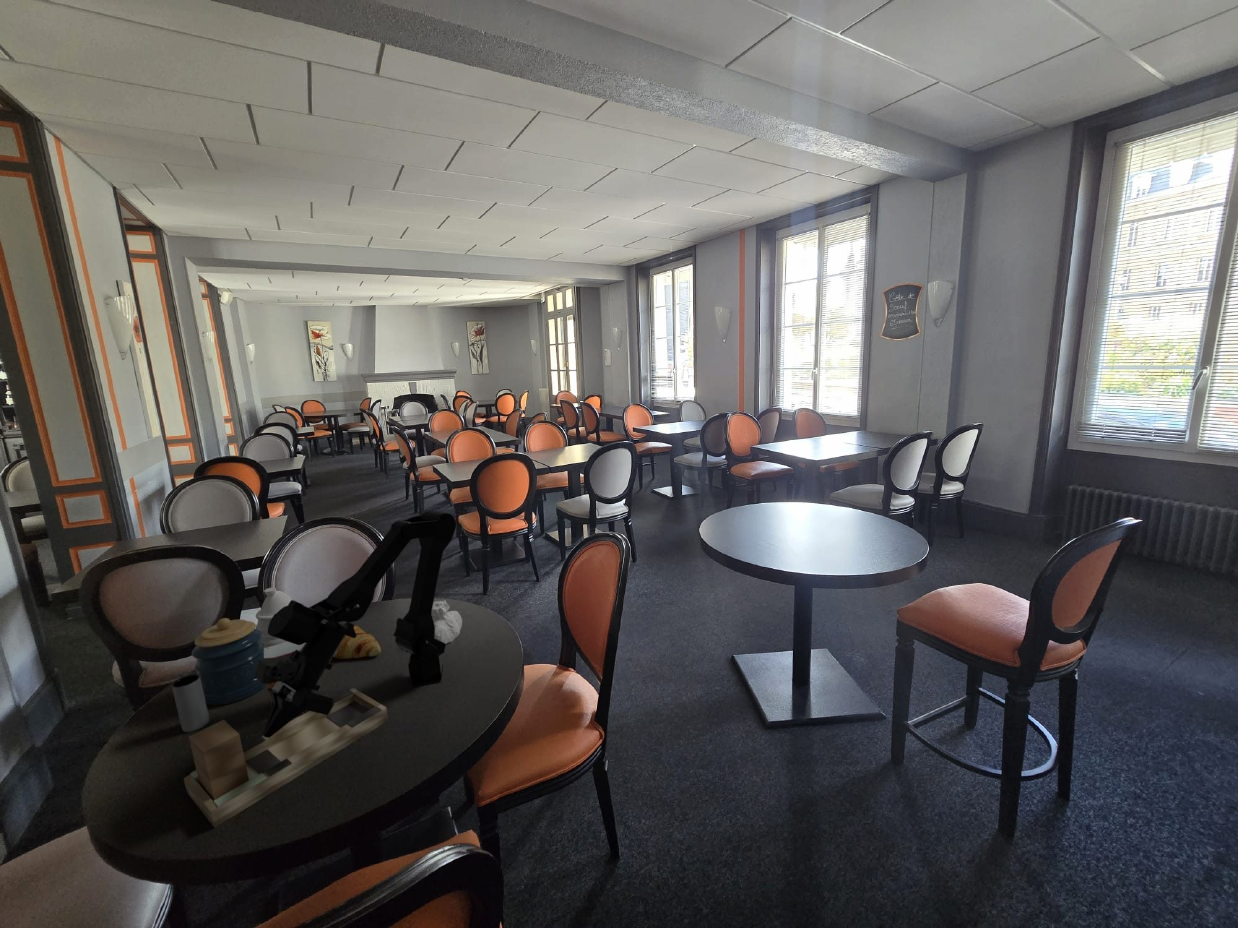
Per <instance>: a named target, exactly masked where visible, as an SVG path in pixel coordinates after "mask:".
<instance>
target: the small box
mask: <svg viewBox="0 0 1238 928" xmlns="http://www.w3.org/2000/svg"><path fill="white" fill-rule="evenodd" d="M305 643H306V642H305ZM305 643H304V644H305ZM304 644H302V645H296V644H293V643H290V642H284V643H281V644H278V645H274V646H271V647H267V648H264V658H276V657H290V655H291V654H292V652H293V651H295V650H299V651H301V649H302V647H303V646H304ZM275 684H276V683H275V682H272V683H271V684H267V687H268V688H270V689H272V688H273V687H274V685H275ZM268 688H267V689H268ZM269 697H270V698H269V699H270V704H271V703H272V699H271V696H270V695H269Z"/></svg>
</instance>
